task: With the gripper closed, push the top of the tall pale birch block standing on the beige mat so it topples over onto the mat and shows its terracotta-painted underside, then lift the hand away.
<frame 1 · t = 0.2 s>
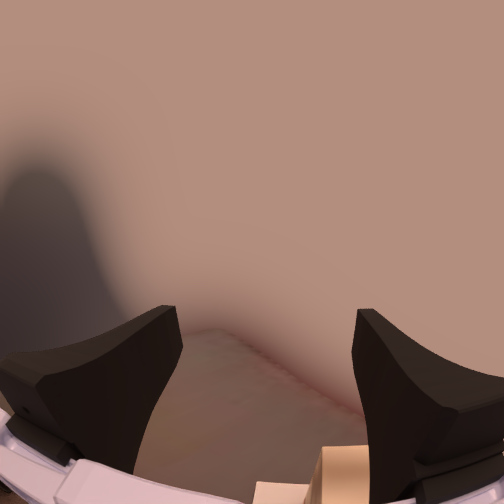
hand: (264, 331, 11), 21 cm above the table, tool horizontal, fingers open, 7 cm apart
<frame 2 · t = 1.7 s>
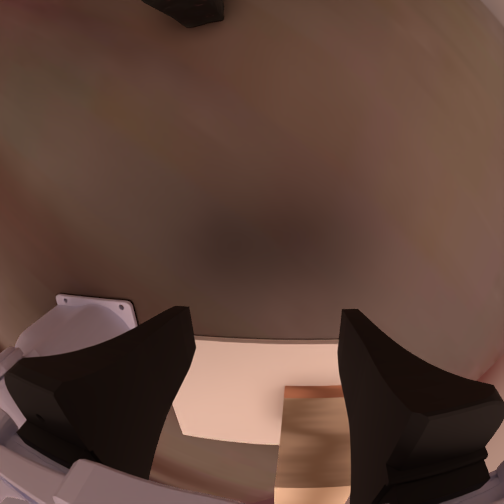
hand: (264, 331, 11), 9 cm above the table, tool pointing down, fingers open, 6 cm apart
birch block: (312, 404, 23), point 1 cm above the table, touching beige mat
beige mat: (262, 399, 24), on the table
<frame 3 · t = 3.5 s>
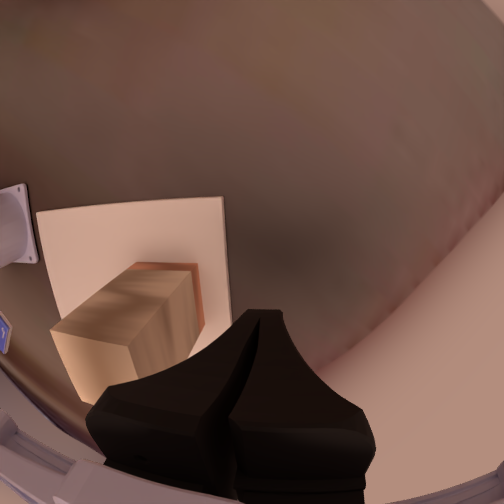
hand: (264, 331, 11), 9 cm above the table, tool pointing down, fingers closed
birch block: (170, 293, 21), point 1 cm above the table, touching beige mat
beige mat: (124, 287, 23), on the table
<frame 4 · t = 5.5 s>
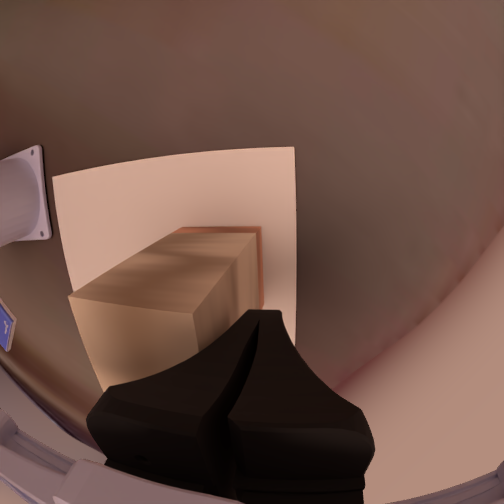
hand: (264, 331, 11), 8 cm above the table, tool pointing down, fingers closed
birch block: (222, 265, 18), point 1 cm above the table, touching beige mat
beige mat: (162, 261, 20), on the table
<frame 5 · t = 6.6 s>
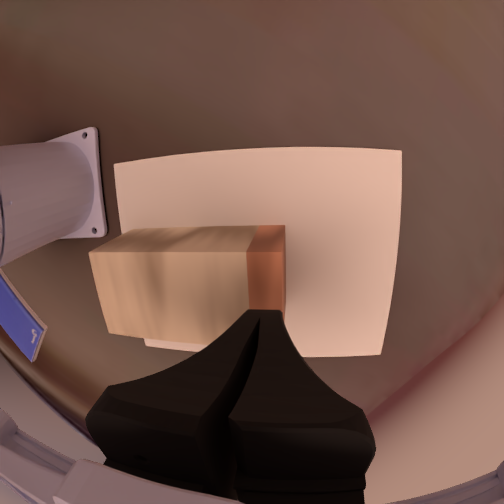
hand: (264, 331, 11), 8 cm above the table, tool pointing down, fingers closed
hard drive: (13, 303, 26), on the table
birch block: (284, 282, 15), point 3 cm above the table, tilted 90°, touching beige mat
beige mat: (254, 261, 19), on the table
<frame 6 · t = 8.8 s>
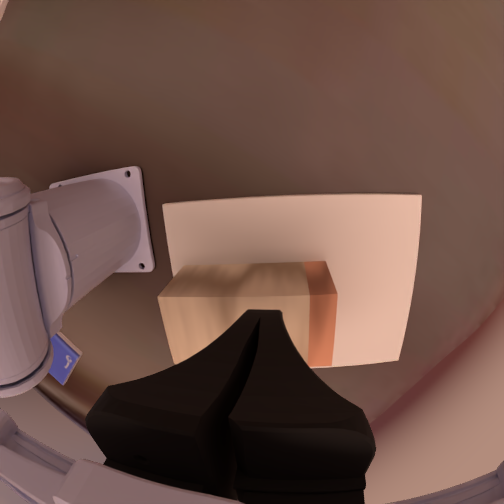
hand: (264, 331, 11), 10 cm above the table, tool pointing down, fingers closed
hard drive: (40, 330, 27), on the table
birch block: (329, 311, 18), point 3 cm above the table, tilted 90°, touching beige mat
beige mat: (297, 291, 21), on the table
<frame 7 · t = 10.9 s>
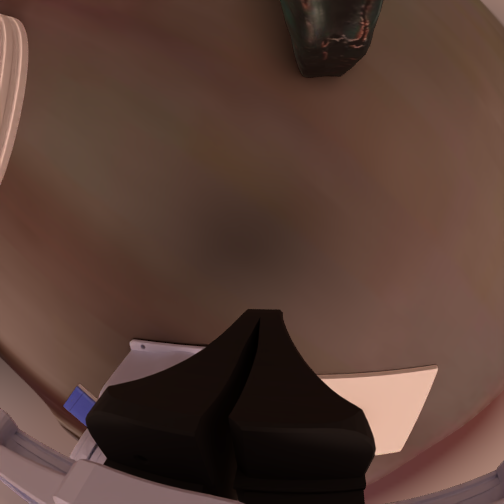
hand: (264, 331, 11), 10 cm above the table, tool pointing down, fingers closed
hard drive: (108, 419, 32), on the table
beige mat: (338, 421, 25), on the table
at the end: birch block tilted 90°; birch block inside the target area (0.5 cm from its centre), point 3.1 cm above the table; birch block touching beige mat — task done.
